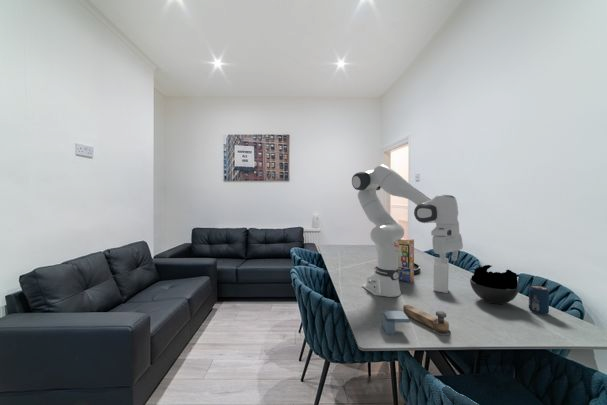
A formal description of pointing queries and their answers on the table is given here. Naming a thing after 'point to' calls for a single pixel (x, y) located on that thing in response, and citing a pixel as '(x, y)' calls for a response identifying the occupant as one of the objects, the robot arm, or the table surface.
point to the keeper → (392, 320)
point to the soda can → (539, 300)
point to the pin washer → (441, 333)
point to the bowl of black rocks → (494, 285)
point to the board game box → (405, 259)
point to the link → (428, 318)
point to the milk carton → (440, 275)
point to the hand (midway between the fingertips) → (449, 261)
